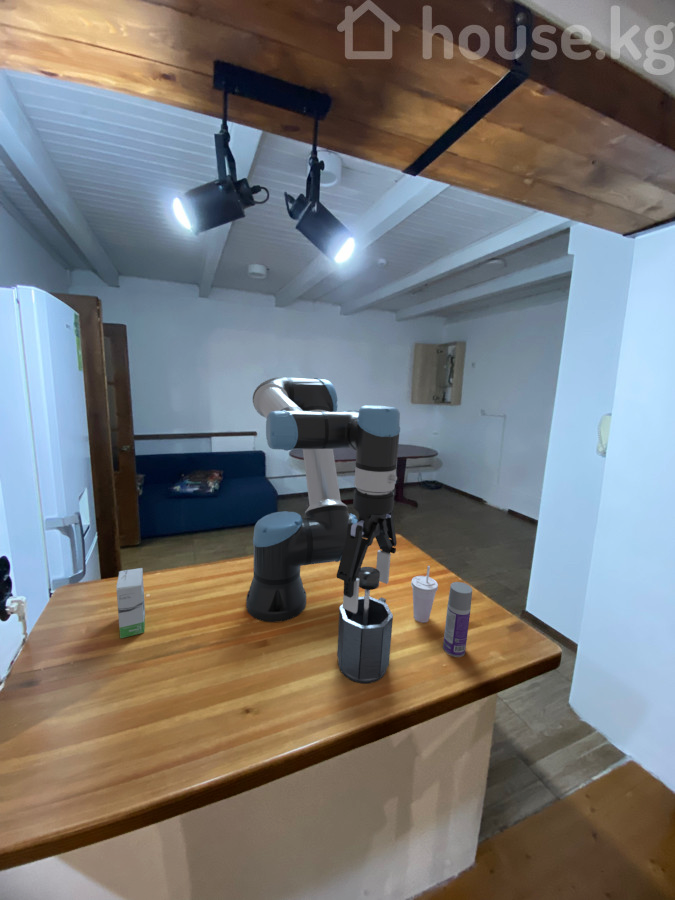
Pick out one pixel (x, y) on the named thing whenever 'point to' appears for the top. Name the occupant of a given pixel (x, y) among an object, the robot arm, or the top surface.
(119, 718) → the top surface
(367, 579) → the plunger
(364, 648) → the mug
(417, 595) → the smoothie
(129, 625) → the ink box
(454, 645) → the container
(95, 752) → the top surface
